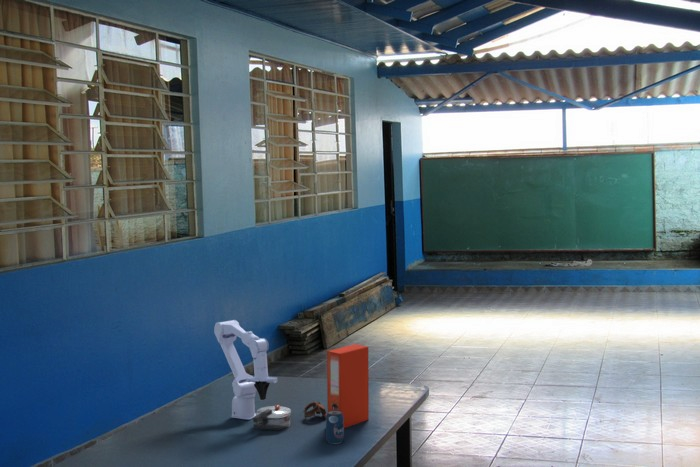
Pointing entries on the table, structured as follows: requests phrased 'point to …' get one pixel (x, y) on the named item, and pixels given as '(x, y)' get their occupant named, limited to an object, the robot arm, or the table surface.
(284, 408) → the cooker lid
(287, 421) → the cooker pot
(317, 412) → the pottery mug
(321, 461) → the table surface
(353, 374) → the file binder
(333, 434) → the soda can
